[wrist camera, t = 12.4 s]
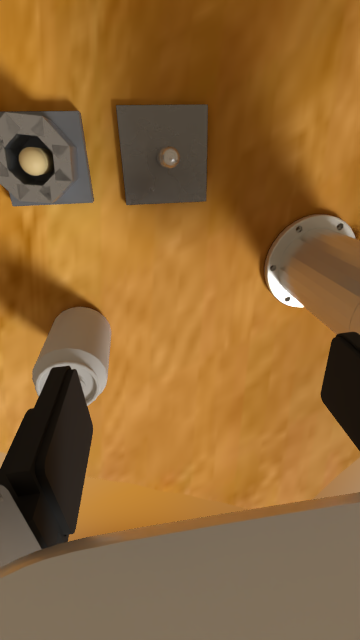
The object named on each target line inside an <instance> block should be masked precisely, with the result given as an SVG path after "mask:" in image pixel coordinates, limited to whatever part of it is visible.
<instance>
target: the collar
mask: <svg viewBox="0 0 360 640" xmlns="http://www.w3.org/2000/svg"><path fill="white" fill-rule="evenodd" d="M31 137H39V138H40V139H41V141H42V142H43V143H44V144H45V145H46V146H47V147H48V148H49V149H50V150H51V151H52V152H53V159H54V169H55V173H54V175H53V176H52V177H51V178H50V179H49V180H48V181H47V182H45V181H37V180H36V179H34V178H33V177H32V176H31V175H30V174H28V173H27V172H25V171H24V170H23V168H22V167H21V165H20V163H19V154H20V152H21V148H22V147H23V146H24V144H25V143H26V142H27V141H28V140H29V139H30V138H31ZM78 179H79V170H78V155H77V147H76V146H75V145H74V144H73V143H72V141H71V140H70V139H69V138H68V137H67V136H66V135H65V134H64V133H63V131H62V130H61V129H60V128H59V127H58V126H57V125H56V124H55V123H54V122H53V121H51V120H49V119H47V118H45V117H43V116H36V115H27V114H18V113H9V112H5V113H4V114H3V115H2V117H1V118H0V184H1V185H2V186H3V187H4V188H6V189H7V190H8V191H9V192H10V193H11V194H12V195H13V196H14V197H15V198H17V199H18V200H19V201H25V202H41V203H53V202H55V201H56V200H58V199H59V198H61V197H62V196H63V195H64V194H65V193H66V192H67V191H68V190H69V189H70V187H71V186H72V185H73V184H74V183H75V182H76V181H77V180H78Z"/></svg>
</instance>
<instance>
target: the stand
mask: <svg viewBox="0 0 360 640" xmlns="http://www.w3.org/2000/svg"><path fill="white" fill-rule="evenodd" d="M116 109H117V119H118V128H119V138H120V148H121V157H122V167H123V176H124V186H125V195H126V205H138V204H159V203H179V202H200V201H206V184H207V125H208V105H116Z"/></svg>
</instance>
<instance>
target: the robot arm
mask: <svg viewBox="0 0 360 640" xmlns="http://www.w3.org/2000/svg"><path fill="white" fill-rule="evenodd" d="M296 228H297V229H296ZM264 273H265V280H266V284H267V287H268V289H269V291H270V292H271V293H272V294H273V296H274V297H275V298H277V299H278V300H279V301H280V302H282V303H283V304H286V305H289V306H292V307H305V308H306V309H307V310H309V311H310V312H311V313H312V314H313V315H314V316H316V317H317V318H318V319H319V320H320V321H322V322H323V323H324V324H325V325H326V326H327V327H329V328H330V329H331V330H332V331H333V332H334V333H336V334H337V335H336V338H333V340H332V342H331V347H330V352H329V356H328V361H327V366H326V371H325V376H324V380H323V385H322V390H321V398H322V401H323V403H324V404H325V405H326V407H327V408H328V409H329V411H330V412H331V413H332V415H333V416H334V417H335V419H336V420H337V421H338V423H339V424H340V425H341V427H342V428H343V429H344V431H345V432H346V433H347V435H348V436H349V437H350V439H351V440H352V441H353V443H354V444H355V445H356V447H357V448H358V449H359V451H360V240H358V239H356V238H355V234H354V232H353V231H352V229H351V227H350V226H349V225H348V224H347V223H346V222H345V221H343V220H341V219H340V218H337V217H334V216H331V215H326V214H314V215H310V216H306V217H303V218H301V219H299V220H297V221H295V222H294V223H292V224H291V225H289V226H288V227H287V228H286V229H285V230H283V231H282V232H281V233H280V234H279V236H278V237H277V238H276V240H275V241H274V242H273V244H272V246H271V248H270V250H269V252H268V255H267V258H266V262H265V268H264ZM92 434H93V425H92V421H91V418H90V414H89V411H88V407H87V404H86V400H85V397H84V393H83V390H82V386H81V383H80V379H79V376H78V372H77V370H76V369H71V367H70V366H61V367H53V368H52V369H51V370H50V372H49V375H48V377H47V379H46V382H45V384H44V386H43V389H42V391H41V393H40V396H39V398H38V400H37V402H36V405H35V407H34V408H33V409H29V410H28V411H27V412H26V414H25V416H24V418H23V420H22V422H21V425H20V427H19V429H18V431H17V433H16V436H15V438H14V440H13V442H12V444H11V446H10V449H9V451H8V453H7V455H6V457H5V460H4V462H3V464H2V466H1V468H0V640H360V492H359V493H353V494H346V495H339V496H333V497H326V498H320V499H314V500H307V501H301V502H295V503H288V504H282V505H276V506H269V507H263V508H257V509H251V510H244V511H239V512H232V513H226V514H220V515H213V516H207V517H201V518H195V519H189V520H183V521H177V522H171V523H165V524H159V525H153V526H147V527H141V528H135V529H130V530H124V531H119V532H114V533H108V534H102V535H97V536H92V537H86V538H82V539H78V540H74V541H70V542H68V537H69V534H73V533H74V532H75V529H76V524H77V518H78V513H79V507H80V501H81V495H82V490H83V485H84V479H85V474H86V468H87V462H88V457H89V451H90V446H91V440H92Z"/></svg>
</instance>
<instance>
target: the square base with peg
mask: <svg viewBox="0 0 360 640" xmlns="http://www.w3.org/2000/svg"><path fill="white" fill-rule="evenodd" d="M4 113H5V112H0V118H1V117H2V115H3V114H4ZM9 113H18V114H27V115H36V116H43V117H45V118H47V119H49V120H51V121H53V122H54V123H55V124H56V125H57V126H58V127H59V128H60V129H61V130H62V131H63V133H64V134H65V135H66V136H67V137H68V138H69V139H70V140H71V141H72V143H73V144H74V145H75V146H76V147H77V155H78V170H79V179H78V180H77V181H76V182H75V183H74V184H73V185H72V186H71V187H70V189H69V190H68V191H67V192H66V193H65V194H64V195H63V196H62V197H61V198H59V199H58V200H56V201H55V202H53V203H41V202H25V201H19V200H18V199H17V198H15V197H14V196H13V195H12V194H11V193H10V192H9V194H10V198H11V201H12V205H13V206H29V205H51V204H72V203H93V201H94V197H93V191H92V184H91V178H90V171H89V165H88V158H87V152H86V145H85V139H84V132H83V126H82V119H81V113H80V112H79V111H26V112H9ZM19 163H20V165H21V167H22V168H23V170H24V171H25V172H27V173H28V174H30V175H31V176H32V177H33V178H34V179H36V180H37V181H45V182H47V181H48V180H49V179H50V178H51V177H52V176H53V175H54V173H55V169H54V159H53V152H52V151H51V150H50V149H49V148H48V147H47V146H46V145H45V144H44V143H43V142H42V141H41V139H40V138H39V137H31V138H30V139H29V140H28V141H27V142H26V143H25V144H24V146H23V147H22V148H21V152H20V154H19Z"/></svg>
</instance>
